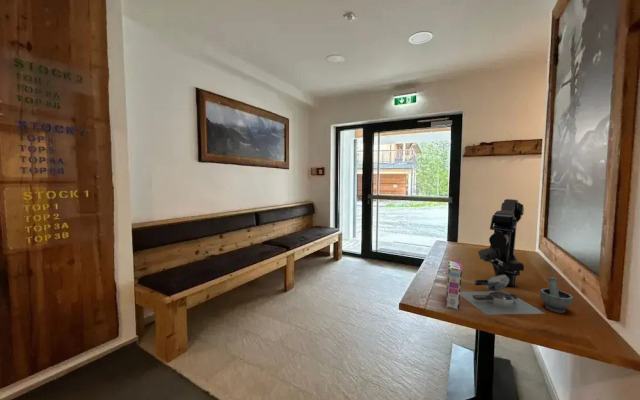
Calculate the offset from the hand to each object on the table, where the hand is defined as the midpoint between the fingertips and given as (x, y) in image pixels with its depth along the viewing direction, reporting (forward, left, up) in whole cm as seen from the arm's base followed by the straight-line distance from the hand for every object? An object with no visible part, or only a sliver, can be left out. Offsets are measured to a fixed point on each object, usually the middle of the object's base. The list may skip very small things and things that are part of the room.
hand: (498, 278), depth 112 cm
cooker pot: (+2, +2, -9) cm, 10 cm away
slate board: (+1, +1, -10) cm, 10 cm away
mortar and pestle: (-19, +7, -10) cm, 23 cm away
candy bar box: (+20, +1, -10) cm, 22 cm away
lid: (+3, 0, -2) cm, 3 cm away
